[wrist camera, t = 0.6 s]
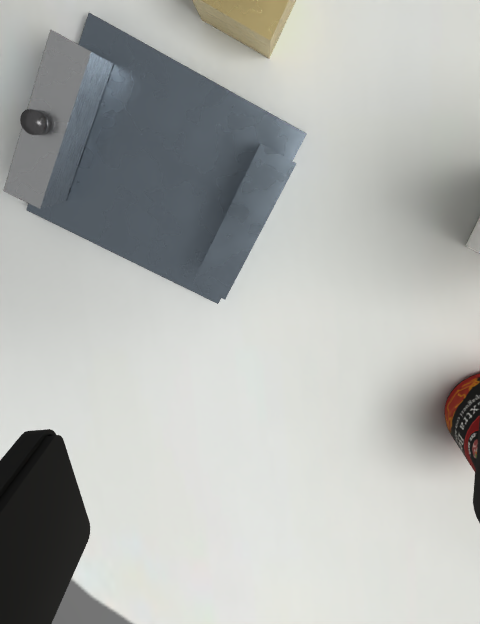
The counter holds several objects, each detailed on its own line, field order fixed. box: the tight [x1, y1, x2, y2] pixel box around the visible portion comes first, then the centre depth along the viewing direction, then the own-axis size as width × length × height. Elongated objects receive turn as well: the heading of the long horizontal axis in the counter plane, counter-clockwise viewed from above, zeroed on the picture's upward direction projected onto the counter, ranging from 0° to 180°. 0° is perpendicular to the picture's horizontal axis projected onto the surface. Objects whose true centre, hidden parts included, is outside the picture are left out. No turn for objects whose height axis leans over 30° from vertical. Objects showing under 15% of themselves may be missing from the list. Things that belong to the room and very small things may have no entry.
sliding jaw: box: [4, 30, 113, 209], centre depth 28 cm, size 10×2×5 cm, turn 153°
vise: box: [27, 13, 306, 304], centre depth 30 cm, size 14×16×5 cm
